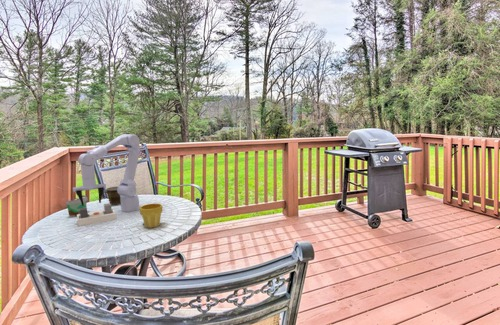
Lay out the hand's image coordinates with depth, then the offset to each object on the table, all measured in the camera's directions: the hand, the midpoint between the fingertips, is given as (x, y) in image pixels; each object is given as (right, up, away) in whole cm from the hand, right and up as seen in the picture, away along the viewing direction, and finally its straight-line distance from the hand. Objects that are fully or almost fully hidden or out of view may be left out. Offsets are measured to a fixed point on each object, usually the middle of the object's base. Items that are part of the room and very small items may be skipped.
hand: (91, 203), depth 146 cm
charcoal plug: (+6, -8, +5) cm, 11 cm away
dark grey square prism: (-3, -9, -1) cm, 10 cm away
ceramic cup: (-4, -5, +33) cm, 33 cm away
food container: (-12, -9, +12) cm, 19 cm away
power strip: (+2, -10, +2) cm, 10 cm away
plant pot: (+32, -10, -4) cm, 34 cm away
